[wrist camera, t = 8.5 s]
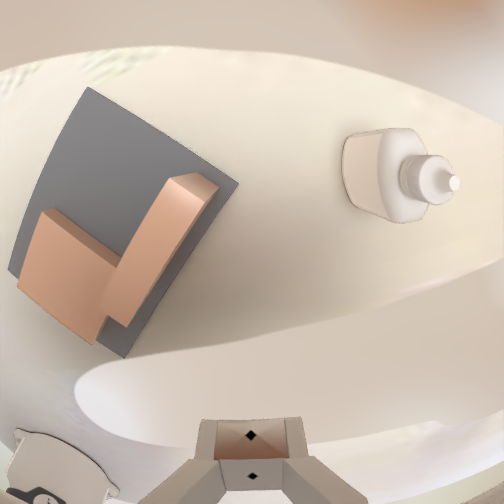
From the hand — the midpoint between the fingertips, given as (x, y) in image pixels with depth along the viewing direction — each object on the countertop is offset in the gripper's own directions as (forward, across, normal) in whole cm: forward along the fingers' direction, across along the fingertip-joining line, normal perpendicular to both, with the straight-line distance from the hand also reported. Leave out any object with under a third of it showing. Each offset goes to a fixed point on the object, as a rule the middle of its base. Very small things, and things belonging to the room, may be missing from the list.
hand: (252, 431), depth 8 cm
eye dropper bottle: (+17, -9, -7) cm, 21 cm away
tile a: (+15, +12, +3) cm, 19 cm away
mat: (+16, +12, -3) cm, 21 cm away
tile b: (+16, +5, -4) cm, 17 cm away
